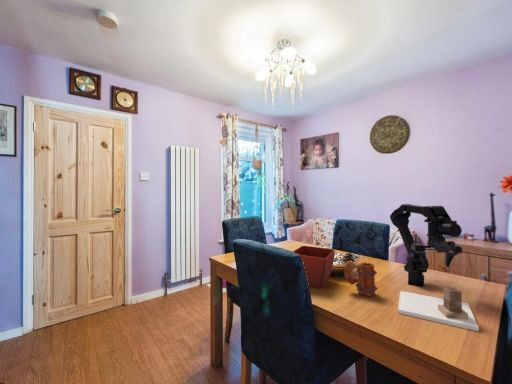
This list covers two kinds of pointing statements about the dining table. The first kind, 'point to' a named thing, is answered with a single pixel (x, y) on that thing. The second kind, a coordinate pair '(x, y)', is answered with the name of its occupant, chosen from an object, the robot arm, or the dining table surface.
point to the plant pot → (317, 264)
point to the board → (433, 310)
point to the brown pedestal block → (452, 304)
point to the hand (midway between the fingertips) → (435, 266)
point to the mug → (362, 277)
